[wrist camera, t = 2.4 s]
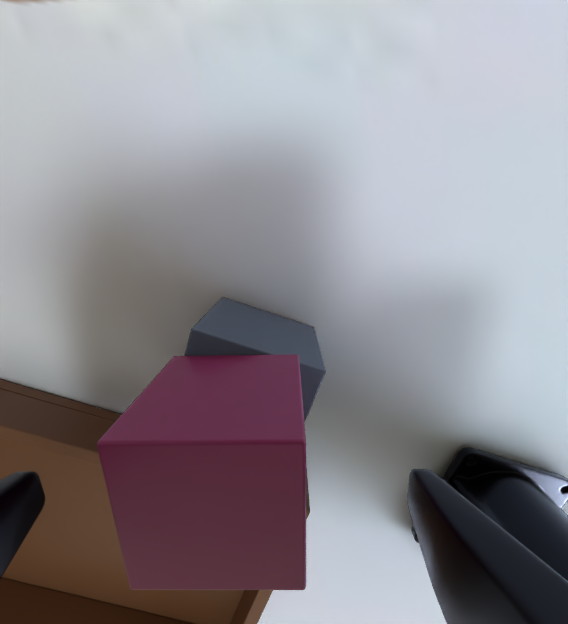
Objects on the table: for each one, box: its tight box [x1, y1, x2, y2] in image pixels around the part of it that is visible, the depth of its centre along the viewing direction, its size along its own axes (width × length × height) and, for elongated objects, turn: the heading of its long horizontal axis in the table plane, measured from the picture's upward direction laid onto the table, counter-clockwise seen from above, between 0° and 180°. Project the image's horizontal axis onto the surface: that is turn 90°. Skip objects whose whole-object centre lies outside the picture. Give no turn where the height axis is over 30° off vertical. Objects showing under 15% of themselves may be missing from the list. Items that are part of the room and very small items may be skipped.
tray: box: [0, 380, 310, 624], centre depth 16 cm, size 19×14×3 cm
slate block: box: [184, 297, 325, 422], centre depth 12 cm, size 4×4×4 cm
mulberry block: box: [97, 354, 306, 590], centre depth 8 cm, size 4×4×4 cm
